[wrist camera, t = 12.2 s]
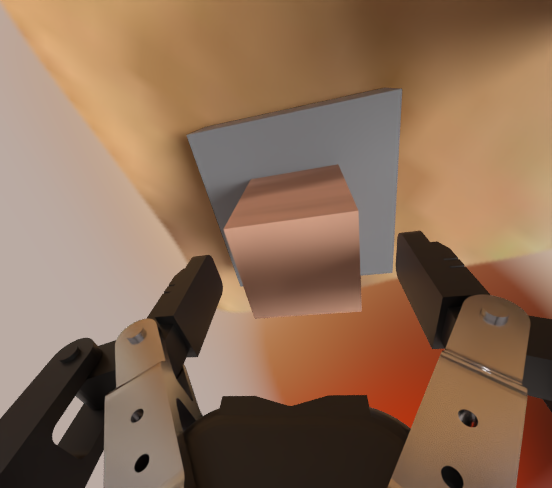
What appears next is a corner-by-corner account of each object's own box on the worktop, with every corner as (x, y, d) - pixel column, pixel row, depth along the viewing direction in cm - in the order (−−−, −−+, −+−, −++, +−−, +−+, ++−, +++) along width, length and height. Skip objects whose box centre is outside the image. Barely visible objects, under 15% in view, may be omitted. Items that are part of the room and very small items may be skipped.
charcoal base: (204, 127, 16) (186, 135, 14) (384, 87, 14) (402, 88, 12) (247, 263, 22) (240, 286, 19) (380, 248, 20) (392, 272, 17)
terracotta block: (250, 179, 15) (223, 229, 10) (338, 164, 14) (358, 210, 9) (268, 249, 17) (254, 318, 12) (343, 241, 16) (361, 311, 11)
